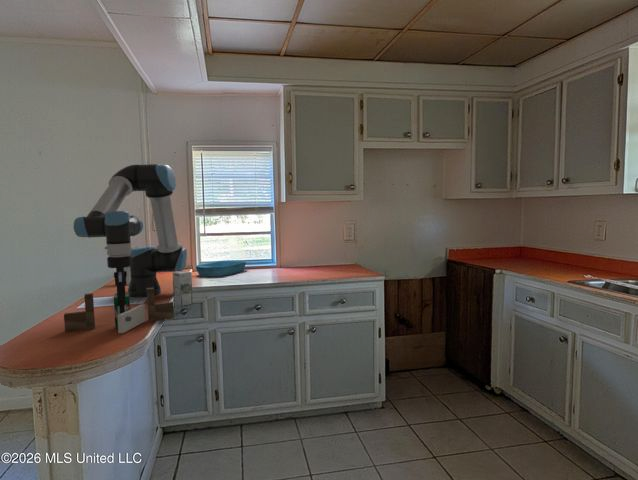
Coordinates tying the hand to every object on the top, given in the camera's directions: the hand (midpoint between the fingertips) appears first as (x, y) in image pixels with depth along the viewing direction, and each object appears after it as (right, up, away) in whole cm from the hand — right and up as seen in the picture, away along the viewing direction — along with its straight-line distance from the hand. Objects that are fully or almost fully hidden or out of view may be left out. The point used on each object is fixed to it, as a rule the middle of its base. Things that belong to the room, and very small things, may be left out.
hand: (123, 321), depth 141 cm
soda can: (0, -2, 0) cm, 2 cm away
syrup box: (+10, 0, +32) cm, 34 cm away
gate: (+4, -2, -1) cm, 5 cm away
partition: (-2, -2, +4) cm, 5 cm away
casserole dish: (+6, +6, +119) cm, 119 cm away
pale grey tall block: (-38, +3, +87) cm, 95 cm away
